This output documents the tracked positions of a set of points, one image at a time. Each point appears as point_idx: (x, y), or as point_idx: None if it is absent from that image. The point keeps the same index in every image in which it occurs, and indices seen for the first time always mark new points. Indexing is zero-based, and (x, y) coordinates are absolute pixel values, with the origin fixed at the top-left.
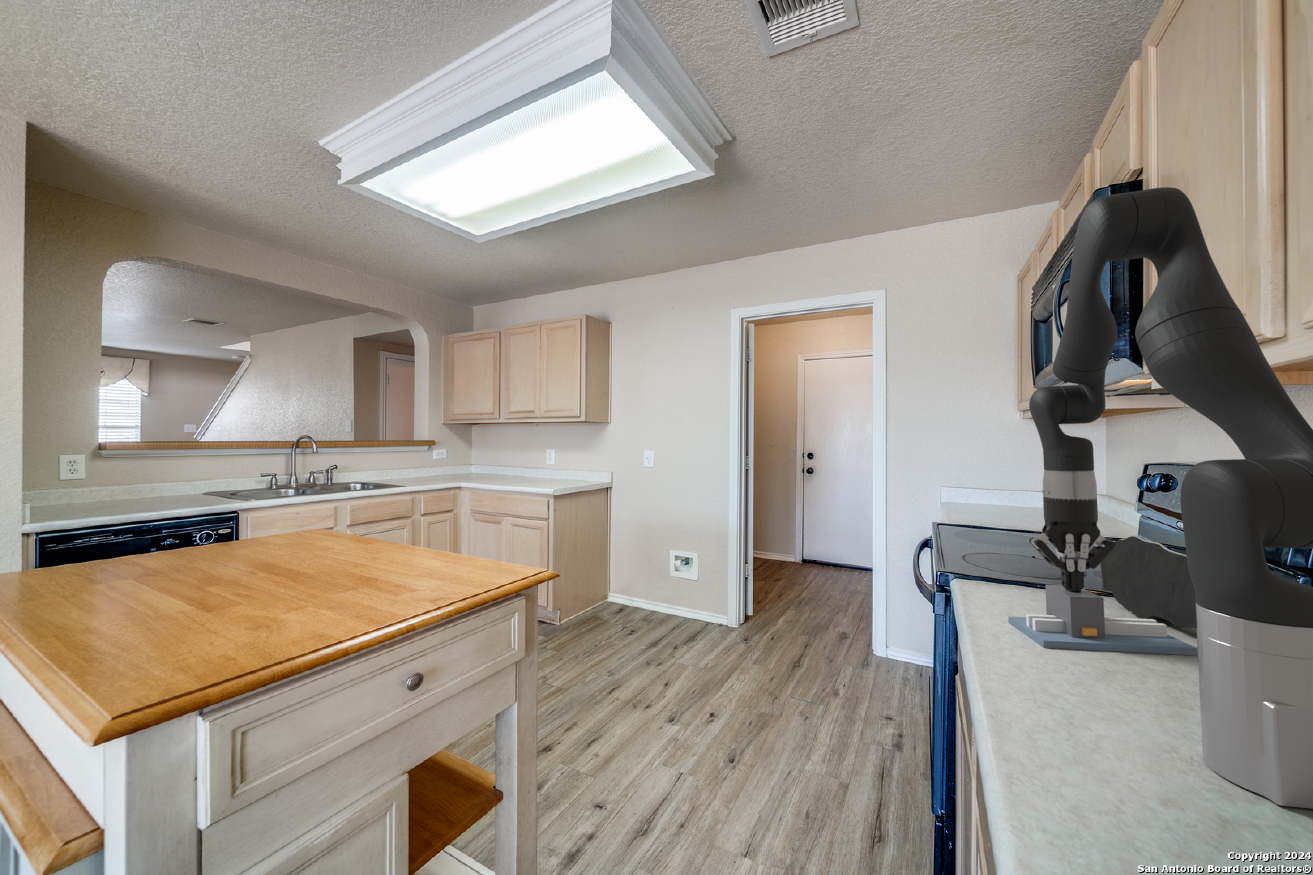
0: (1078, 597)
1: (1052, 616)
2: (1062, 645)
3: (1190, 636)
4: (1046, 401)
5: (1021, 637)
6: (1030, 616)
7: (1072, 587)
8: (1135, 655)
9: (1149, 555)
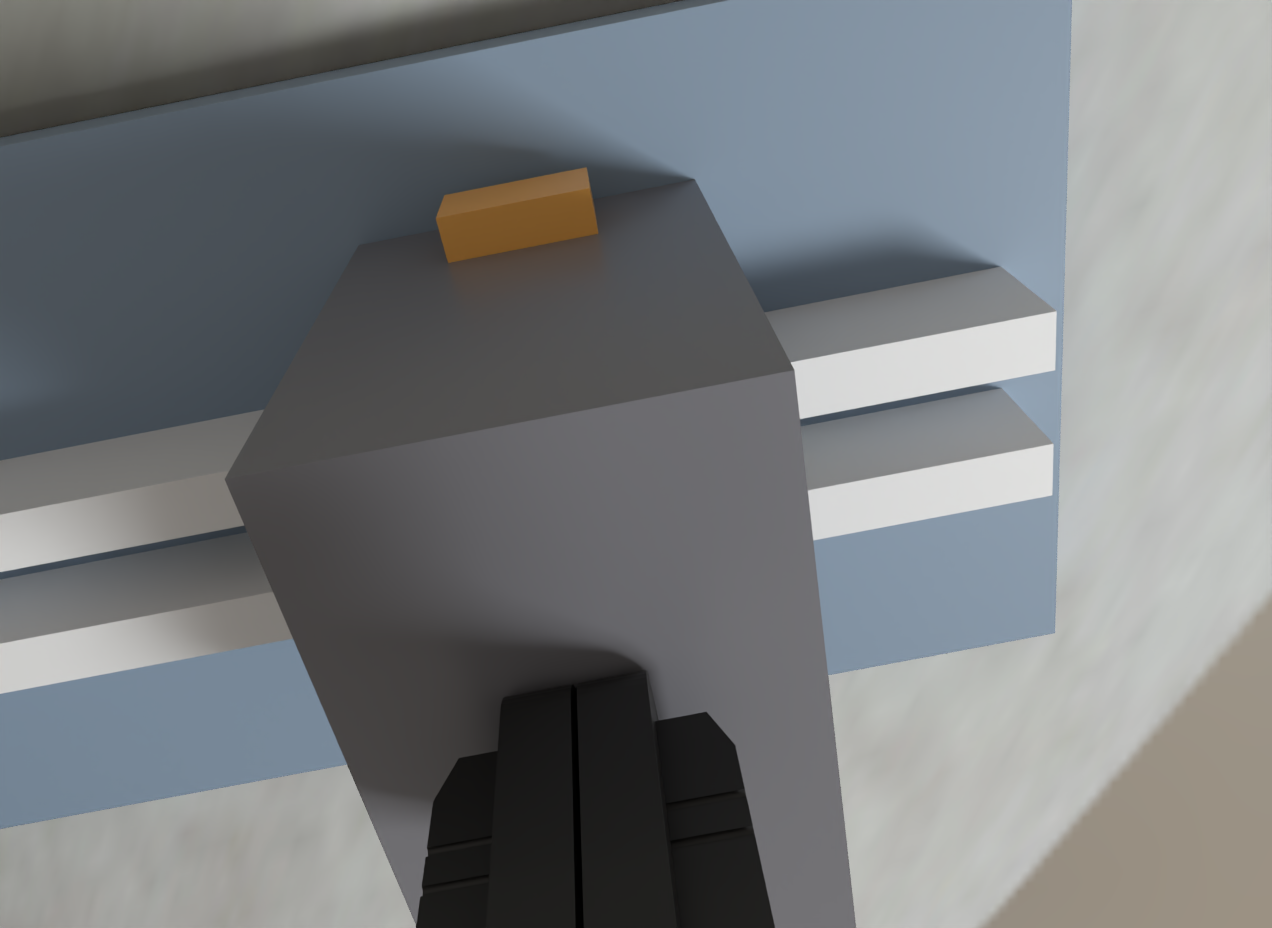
0: (646, 397)
1: None
2: None
3: None
4: None
5: (1112, 208)
6: (1031, 443)
7: (642, 715)
8: (151, 4)
9: None
